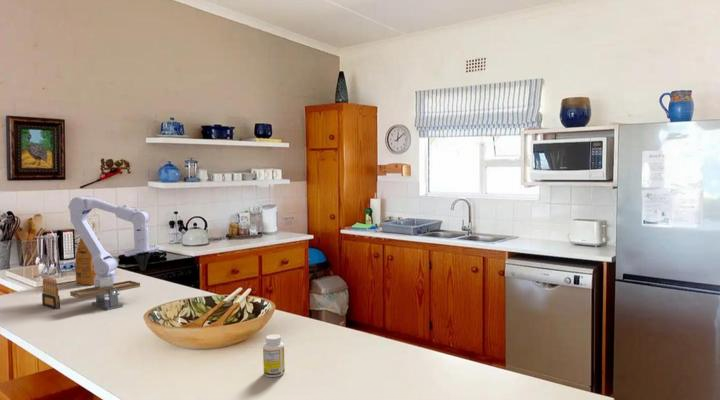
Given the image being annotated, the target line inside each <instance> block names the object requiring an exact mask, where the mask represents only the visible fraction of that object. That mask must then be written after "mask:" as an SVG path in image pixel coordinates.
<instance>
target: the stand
mask: <svg viewBox="0 0 720 400" xmlns="http://www.w3.org/2000/svg"><path fill="white" fill-rule="evenodd" d="M118 292H119V291H118V290H117V289H111V290H109V296H108V299H106V297H104V294H102V295H96V296H95V301H93V302H91V306H94V307H96V306H97V308H99V307H100V308H101V309H102V308H103V310H106V311H111V310H114V309H119V307H120V308H122V307H123V305H124V304H122V303H120V302H119V294H118ZM100 308H99V309H100Z"/></svg>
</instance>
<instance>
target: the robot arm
mask: <svg viewBox="0 0 720 400" xmlns="http://www.w3.org/2000/svg"><path fill="white" fill-rule="evenodd" d="M68 209H69V213H70V215H69V216H70V222H71V224H72V225H73V227H74V229H75V230H76V232H77V234H78V235H79V237H80V238H81V239H82V240H83V242H84V243H85V245H86V247H87V248H88V250H89V252H90V253H91V255H92V257H93V259H92V263H93V265H94V270H95V272H96V273H97V275H96V276H95V278H94V285H93V287H95V279H99V278H104V277H109V278H113V284H114V283H117V279H116V278H117V275H116V274H117V273H116V269H118V266H119V264H118V260H117V259H116V258H115V257H113V256H112V255H111V253H110V252H108V251H106V250H105V248H104V247H103V244H102V243H101V242H100V239H99V240H98V238H99V237H97V235H96V233H95V232H94V230H93V229H92V227H91V225H90V224H89V222H88V221H87V218H88V215H89V213H91V211H92V210H93V209H98V210H102V211H106V212H108V213H112V214H114V215H115V217H116V218H118V219H121V220H124V221H126V222H129V223H132V224H133V240H134V242H133V243H134V249H130V250H126V251H124V256H125V257H131V256H133V258H135V260H136V262H137V264H138V267H139V270H140V271H146V268H147V265H148V261H149V259H150V258H151V253H156V252H159V246H151V247H150V244H149V242H150V241H149V240H150V239H149V238H150V237H149V223H148V222H149V221H150V219H151V218H150V214H149V212H147V211H145V210H139V209H138V208H132V207H130V206H129V205H127V204H121V205H118V206H117V205H115V204H112V203H110V202H107V201H104V200H102V199H100V198H97V197H94V196H93V197H92V196H90V195H85V196H77V197H74V198H72V199H71V200H70V202H69V204H68ZM120 294H121V291H118V295H120ZM104 297H105V298H106V297H109V294H104Z"/></svg>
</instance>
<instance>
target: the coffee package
mask: <svg viewBox="0 0 720 400" xmlns="http://www.w3.org/2000/svg"><path fill="white" fill-rule="evenodd" d="M97 238H98V240H99V241H100V239H99V237H97ZM92 259H93V257H92V255H91V253H90V252H89V250H88V248H87V247H86V245H85V243H84V242H83V240H82V239H81V237H80V238H79V242H78V245H77V249H76V253H75V261H74V263H75V264H74V272H75V284H76V285H83V286H94V278H95V276H96V275H97V273H96V272H95V270H94V265H93V263H92Z"/></svg>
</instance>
